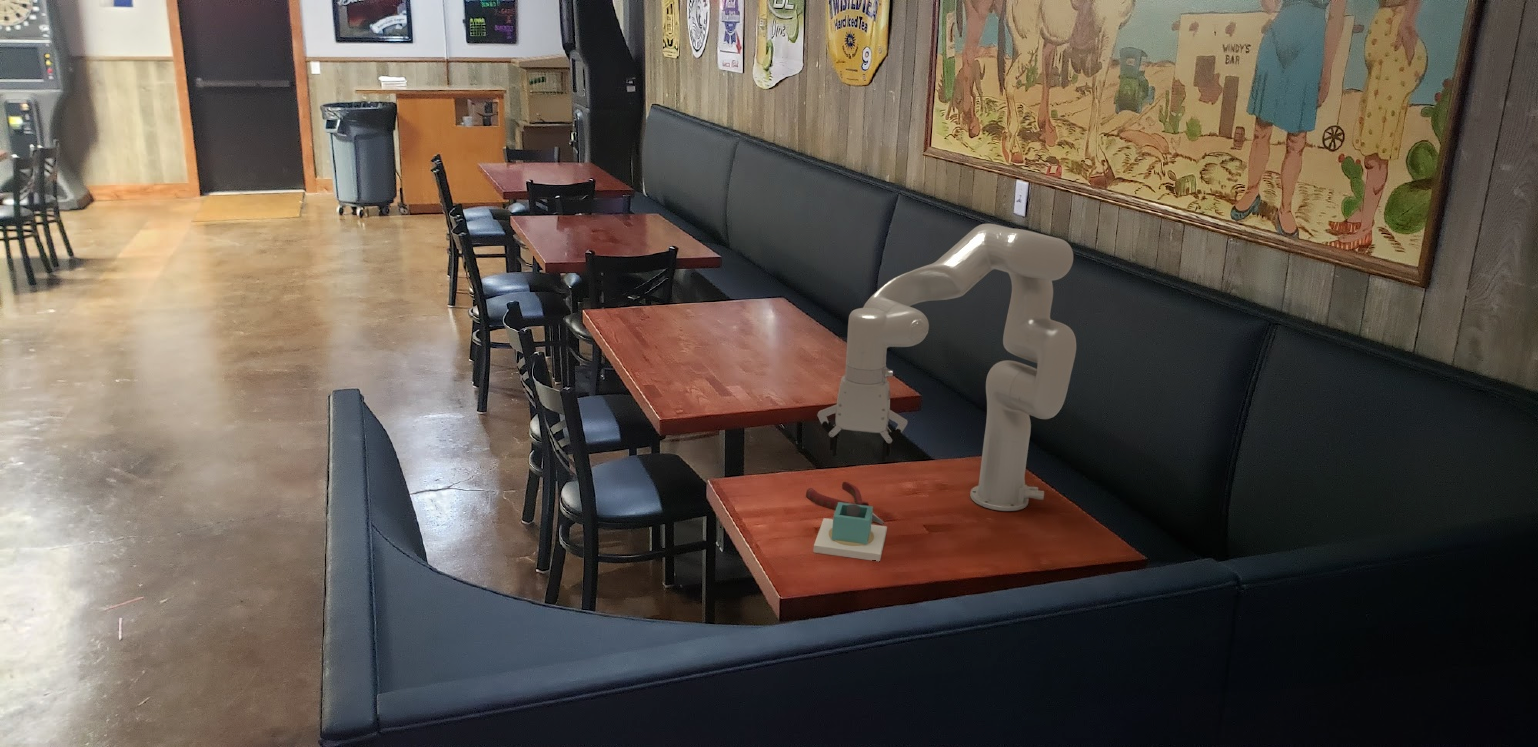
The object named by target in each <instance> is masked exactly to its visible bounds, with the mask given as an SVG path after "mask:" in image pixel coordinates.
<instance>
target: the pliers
mask: <svg viewBox="0 0 1538 747" xmlns="http://www.w3.org/2000/svg"><path fill="white" fill-rule="evenodd" d="M841 488H842V489H841V490H844V491H846V492H847V493H848V494H850V495H851V496H852V497H853V499H854V503H853V502H848V501H845V500H841V499H838V498H835V497H831V496H827V495H823V494H821V493H819V492H817V491H816V490H815V489H814V488H813V487H810V488H808V489H807V490H806V493H805V496H806V497H807V499H809V500H810V501H811V502H813V503H814V504H816V505H818V506H821V507H824V508H827V509H831V510H834V511H835V510H836V508H837V505H838V502H842V503H849V504H857V505H865V506H870V505H869V502H867V501H863V498H862V495H861V492H860V489H859V488H858V487H857V486H855V485H854V484H852V483H850V482H849V481H843V482H842V486H841ZM872 522H874V523H878V524H881V525H885V522H884V521H883V520H882V519H881V518H880V517H878V516H877V515H876V514H875V513H874V512H873V513H872ZM874 523H872V525H874Z"/></svg>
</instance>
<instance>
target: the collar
mask: <svg viewBox="0 0 1538 747" xmlns="http://www.w3.org/2000/svg"><path fill="white" fill-rule="evenodd" d="M849 503H850V502H849ZM849 503H842V502H838V505H837V508H836V510H834V514H833V518H832V519H833V529H832V540H839V541H846V542H854V543H861V544H867V543H868V539H869V535H870V531H871V524H873V521H872V513H874V510H873V509H874V506H871V505H869V506H865V505H858V506H860V516H859V517H852V516H846V513H847V506H848V505H851V504H849ZM854 505H857V504H855V503H854Z"/></svg>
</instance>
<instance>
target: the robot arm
mask: <svg viewBox="0 0 1538 747" xmlns="http://www.w3.org/2000/svg"><path fill="white" fill-rule="evenodd" d="M1073 262H1074V252H1073V249H1072V247H1071V245H1070V244H1069V243H1068V242H1067V241H1066V240H1065V239H1062V238H1059V237H1055V236H1051V235H1046V234H1042V233H1039V232H1035V231H1032V230H1027V229H1022V228H1021V229H1019V228H1012V227H1008V226H1005V225H1004V226H1003V225H1000V224H995V223H982V224H979V225H977V226H975V227H973V228H972V230H970V231H969V232H968V233H967V234H966V235H964V237H962V238H961V239H960V240H959V241H958V242H957V243H955V245H953V246H952V247H951V248H950V249H949V250H948V251H947V252H944V254H943V255H941V257H939V258H938V259H937V260H936V261H935V262H932V263H930V264H927V265H924V266H921V267H918V268H915V269H913V270H910V271H907V272H905V273H902V274H900V275H898V276H896V277H893V278H892V279H890V280H889V281H888V282H886V283H885V284H884V285H882V286H881V287H880V288H879V289H878V290H877V291H875V292H874V293H873V294H872V295H871V296H870V297H869V299H867V301H866V302H865V303H864V305H863V307H861V308H860V307H859V308H856V309H854V310H852V311H851V312H850V314H849V315H848V323H847V337H846V338H847V340H846V356H845V369H844V370H845V371H844V372H845V374H844V375H842V376H841V380H840V382H839V383H840V384H839V387H838V393H837V400H836V404H833V405H831V406H828V407H826V408H824V409H820V410H819V411H818V412H817V414H816V415H817V417H818V419H819V420H818V421H819V423H820V424H821V427H822V428H823V429H824V431H826V433H827V434H828V436H829V438H830V439H829V451H831V452H832V454H831V455H832V457H833V458H834V457H835V458H836V457H837V455H838V453H839V442H840V433H839V432H841V430H843V431H844V430H845V431H853V432H862V433H873V434H880V436H881V437H882V438H883V439H884V440H883V443H882V454H881V456H882V457H881V461H882V463H886V462H887V458H888V457H889V458H890V457H891V451H892V450H891V449H892V442H893V441H894V440H896V439H897V438H898V437H900V435H902V433H903V431H904V430H905V429H906V427H907V425H908V419H906V418H904V417H903V416H902V415H900V414H899V413H896V412H894V411H893V410H891V391H890V382H889V380H888V379H887V378H893V376H894V370H893V369H890V368H888V367H887V364H886V363H887V350H888V348H891V347H892V348H894V347H895V348H907V347H908V348H909V347H913V346H917V345H918V344H920V343H921V342H923V341H924V339H925V338H926V336H927V335H928V333H929V329H930V323H929V320H928V318H927V316H926V314H924V313H923V312H922V311H921V310H919V309H917V308H914V307H911V306H913V305H917V304H919V303H923V302H924V303H925V302H929V301H931V302H932V301H944V300H946V301H947V300H951V299H957V298H960V297H963V296H964V295H965V294H966V293H967V292H969V291H970V290H971V289H972V288H973V287H974V286H975V285H977V283H979V281H981V280H982V279H983V278H985V276H986V275H987V274H989V273H990V272H991V271H993V270H997V271H1001V272H1004V273H1007V274H1008V275H1009V278H1010V281H1011V295H1010V296H1011V297H1010V300H1009V301H1010V302H1009V307H1008V311H1007V316H1006V320H1005V325H1004V330H1003V336H1002V337H1003V338H1002V344H1003V348H1004V349H1005V350H1006V351H1007V352H1008V353H1010V354H1012V355H1014V356H1016V357H1018V358H1020V359H1023V360H1027V361H1029V362H1032V363H1035V364H1037V367H1033V366H1031V365H1028V364H1025V363H1022V362H1020V361H1015V360H1002V361H998V362H996V363H995V364H993V365H992V366H991V368H990V369H989V371H988V373H987V376H986V381H985V395H986V421H985V422H986V423H985V431H984V436H983V437H984V438H983V445H982V455H981V463H980V471H979V480H978V485H975V486H974V487H972V488H971V489H970V495H969V496H970V499H971V500H972V501H973V502H974V503H976V504H977V505H978V506H981V507H983V508H986V509H989V510H993V511H994V510H995V511H999V512H1016V511H1020V510H1023V509H1024V508H1026V507H1027V506H1028V504H1029V499H1035V500H1039V501H1041V500H1042V501H1043V500H1044V496H1045V491H1044V490H1039V487H1038V486H1028V484H1026V479H1025V475H1026V467H1027V458H1028V453H1029V451H1028V450H1029V443H1030V437H1031V432H1032V431H1031V430H1032V429H1031V428H1032V424H1031V423H1032V422H1031V419H1030V418H1031V417H1034V418H1037V419H1041V420H1049V419H1051V418H1054V417H1055V416H1056V415H1057V414H1058V413H1059V412H1060V410H1062V407H1063V405H1064V404H1065V400H1066V397H1067V393H1068V388H1069V384H1070V381H1071V377H1072V376H1071V375H1072V373H1073V372H1072V371H1073V367H1074V363H1075V358H1076V353H1077V339H1076V335H1075V333H1074V330H1073V329H1071V327H1070V326H1068V325H1067V324H1065V323H1062V322H1060V321H1056V320H1053V319H1052V318H1051V310H1052V305H1053V298H1054V286H1053V281H1058V280H1060V279H1062V278H1063V277H1065V276H1066V275H1067V274H1068V273H1069V272H1070V270H1071V268H1072V266H1073ZM833 414H835V419H834V420H835V421H834V422H835V424H832V423H831V422H830V421H829V420H828V417H829V416H832V415H833ZM1030 416H1031V417H1030ZM890 420H891V421H892V422H895V423H896V424H897V426H896V427H895V428H894V429H893V430H891V429H890V428H889V425H890V424H889V422H890Z"/></svg>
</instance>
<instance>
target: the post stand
mask: <svg viewBox="0 0 1538 747" xmlns="http://www.w3.org/2000/svg"><path fill="white" fill-rule="evenodd" d="M854 504H855V503H854ZM854 504H851V505H848V506H847V513H846V516H852V517H859V516H860V506H858V505H854ZM872 524H873V523H872ZM872 524H871V531H870V535H869V539H868V543H867V544H861V543H854V542H846V541H839V540H832V529H833V518H828V517H827V518H825V517H823V519H822V522H821V525H820V528H819V529H818V532H817V536H816V539H815V541H814V544H813V550H812V551H813V552H812V553H815V554H816V553H817V554H822V555H831V556H837V557H845V558H851V559H852V558H853V559H858V560H859V559H860V560H866V561H872V560H876V561H875V562H879V561H880V562H881V558H882V553H883V549H884V545H885V541H886V535H887V533H888V532H887V530H888V526H886V525H879V524H873V525H872Z"/></svg>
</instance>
